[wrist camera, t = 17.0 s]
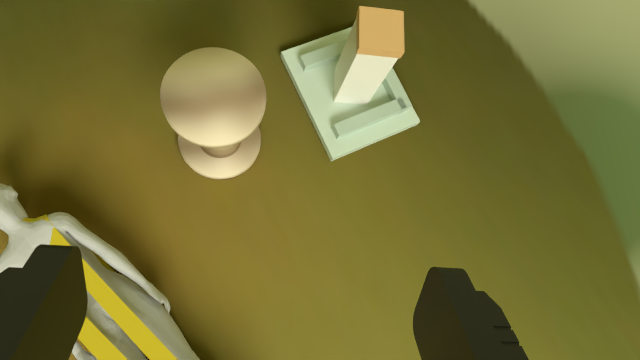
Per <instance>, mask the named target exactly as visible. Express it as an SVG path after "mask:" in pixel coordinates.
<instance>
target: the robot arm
mask: <svg viewBox="0 0 640 360" xmlns="http://www.w3.org/2000/svg"><path fill="white" fill-rule="evenodd" d="M87 305H88V296H87V289H86V282H85V275H84V268H83V262H82V255H81V251H80V248H79V247H78V246H64V245H46V244H40V245H38V246H37V247H36V248H35V249H34V251H33V252H32V254H31V255H30V257H29V258H28V260H27V261H26V263H25V264H24V266H23V268H17V267H8V268H7V269H5V270H4V271H2V272H1V273H0V360H68V359H69V357H70V354H71V352H72V350H73V347H74V345H75V343H76V340H77V338H78V336H79V334H80V331H81V329H82V327H83V324H84V321H85V317H86V313H87ZM413 331H414V336H415V340H416V343H417V346H418V350H419V353H420V356H421V359H422V360H529V359H528V357H527V356H526V354H525V352H524V350H523V348H522V346H519V341H518V339H517V337H516V335H515V333H514V332H513V330H511V326H510V324H509V322H508V320H507V319H506V317H505V315H504V313H503V311H502V309H501V308H500V307H499V306H498V305H497V304H496V303H495V302H494V301H493V300H492V299H491V298H490V297H489V296H488V295H487V294H486V293H485V292H484V291H476V290H475V288H474V286H473V284H472V282H471V280H470V278H469V276H468V274H467V273H466V271H465V270H463V269H459V268H441V267H432V268H430V270H429V271H428V274H427V276H426V279H425V282H424V285H423V288H422V291H421V294H420V296H419V299H418V302H417V305H416V308H415V311H414V316H413Z"/></svg>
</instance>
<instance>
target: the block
mask: <svg viewBox="0 0 640 360" xmlns="http://www.w3.org/2000/svg"><path fill="white" fill-rule="evenodd" d="M403 54H404V11H398V10H390V9H381V8H373V7H364V6H359V8H358V11H357V13H356V20H355V22H354V24H353V27H352V29H351V32H350V34H349V36H348V39H347V41H346V43H345V46H344V48H343V51H342V53H341V55H340V58H339V60H338V63H337V65H336V67H335V70H334V102H341V103H353V104H364V105H367V104H368V103H369V101H370V100H371V98H372V97H373V95H374V94H375V92H376V91H377V89H378V88H379V86H380V85H381V83H382V82H383V80H384V79H385V77H386V76H387V74H388V73H389V71H390V70H391V68H392V67H393V65H394V64H395V62H396V61H397V59H398V58H401V56H402V55H403Z"/></svg>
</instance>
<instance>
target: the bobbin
mask: <svg viewBox="0 0 640 360" xmlns="http://www.w3.org/2000/svg"><path fill="white" fill-rule="evenodd" d="M160 101H161V106H162V109H163V112H164V115H165V117H166V119H167V121H168V123H169V124H170V126H171V127H172V129H173V130H174V131H175V132H176V133H177V134H178V144H179V149H180V152H181V154H182V156H183V158H184V160H185V162H186V163H187V164H188V166H189V167H190V168H191V169H192V170H194V171H195V172H196V173H198V174H200V175H202V176H204V177H207V178H210V179H218V180H223V179H230V178H233V177H236V176H238V175H240V174H242V173H244V172H245V171H246V170H248V169H249V168H250V167H251V166H252V164H253V163H254V162H255V160H256V158H257V156H258V153H259V150H260V144H261V133H260V128H259V124H260V122H261V120H262V118H263V115H264V112H265V106H266V88H265V84H264V81H263V79H262V76H261V75H260V73H259V71H258V70H257V69H256V67H255V66H254V65H253V64H252V63H251V62H250V61H249V60H248V59H246V58H245V57H243V56H242V55H240V54H238V53H236V52H234V51H231V50H228V49H224V48H216V47H207V48H200V49H197V50H193V51H191V52H188V53H186V54H185V55H183V56H181V57H180V58H179V59H177V60H176V61H175V62H174V63H173V64H172V65H171V66H170V68H169V69H168V70H167V72H166V74H165V76H164V78H163V80H162V84H161V89H160Z"/></svg>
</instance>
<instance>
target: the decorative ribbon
mask: <svg viewBox="0 0 640 360" xmlns="http://www.w3.org/2000/svg"><path fill="white" fill-rule="evenodd" d="M17 196H18V193H17V192H16V191H15V190H14V189H13V188H12V187H11V186H7V185H4V184H1V183H0V229H1V230H3V231H4V232H6V233H7V234H8V236H9V241H8V244H7V247H6V249H5V250H4V251H3V252H2V254H1V255H0V273H1V272H2V271H4V270H5V269H7V268H8V267H17V268H23V266H24V264H25V263H26V261H27V260H28V258H29V257H30V255H31V254H32V252H33V251H34V249H35V248H36V247H37V246H38V245H40V244H46V245H64V246H78V247H79V248H80V251H81V255H82V262H83V268H84V275H85V282H86V289H87V296H88V305H87V313H86V317H85V321H84V324H83V327H82V329H81V331H80V334H79V336H78V339H79V340H80V341H81V342H82V343H83V344H84V345H85V346H86V348H87V349H88V350H89V351H90V352H91V353H92V355H93V356H94V357H95V358H94V357H93V356H92V355H91V354H90V353H88V352H86V351H84V350H83V349H82V348H81V346H80V345H79V343H78V342H77V341H76V343H75V345H74V347H73V350H72V353H73V355H74V356H75V357H76V359H77V360H147V359H146V357H145V356H144V354H145V355H146V356H147V357H148V359H149V360H200V359H199V358H198V357H197V355H196V354H195V353H194V352H193V350H192V349H191V348H190V346H189V344H188V343H187V341H186V339H185V338H184V336H183V334H182V332H181V331H180V329H179V328H178V326H177V325H176V323H175V322H174V320H173V319H172V317H171V316H170V314H169V311H170V304H169V301H168V299H167V298H166V297H165V296H164V295H163V294H162V293H161V292H160V291H159V290H158V289H157V288H156V287H155V286H154V285H153V284H152V283H150V282H149V281H147V280H146V279H145V278H144V276H143V275H142V274H141V273H140V272H139V271H138V270H137V269H136V268H135V267H134V266H133V265H132V264H131V263H130V261H129V260H128V259H127V258H126V257H125V256H124V255H123V254H122V253H121V252H120V251H118V250H117V249H115V248H114V247H112V246H111V245H109V244H108V243H106V242H105V241H103V240H102V239H101V238H99V237H98V236H96V235H95V234H94V233H92V232H91V231H89V230H88V229H87V228H85V227H84V226H83V225H82V224H81V223H80V222H79V221H78V220H77V219H76V218H74V217H73V216H71V215H70V214H68V213H64V212H55V213H52V214H49V215H47V214H46V215H43V216H40V217H37V218H29V217H28V215H27V213H26V212H25V210H24V208H23V207H22V205H21V204H20V202H19V201H18V199H17ZM107 263H108V264H109V265H110V266H112V267H113V268H114V269H116V270H117V271H119V272H120V273H122V274H124V275H125V276H127V277H128V278H130V279H131V280H130V279H128V278H127V277H125V276H123V275H121V274H118V273H116V272H115V271H114V270H113V269H112V268H111V267H110V266H109V265H108V264H107ZM132 280H133V281H134V282H136V283H137V284H138V285H139V286H141V287H142V288H143V289H142V288H141V287H139V286H138V285H137V284H136V283H134V282H133V281H132ZM163 303H164V305H165V308H166V309H165V308H164V306H163V305H162V304H163ZM142 352H143V353H144V354H143V353H142Z"/></svg>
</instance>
